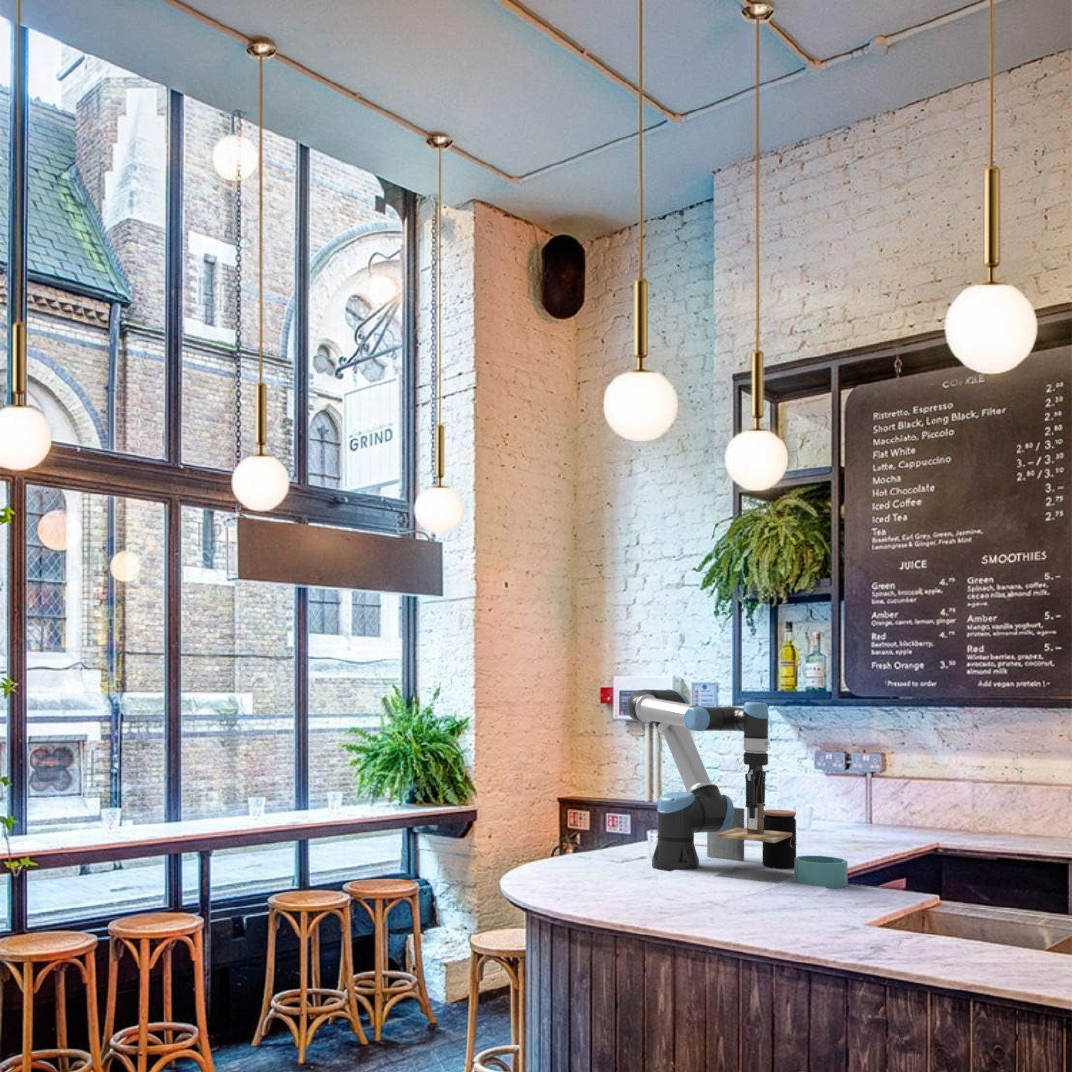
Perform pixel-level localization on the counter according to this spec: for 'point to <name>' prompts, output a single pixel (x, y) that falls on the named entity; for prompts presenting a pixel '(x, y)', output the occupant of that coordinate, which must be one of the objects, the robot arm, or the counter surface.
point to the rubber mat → (755, 875)
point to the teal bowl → (821, 871)
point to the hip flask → (727, 841)
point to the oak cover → (756, 831)
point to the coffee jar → (784, 850)
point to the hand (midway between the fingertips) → (755, 828)
